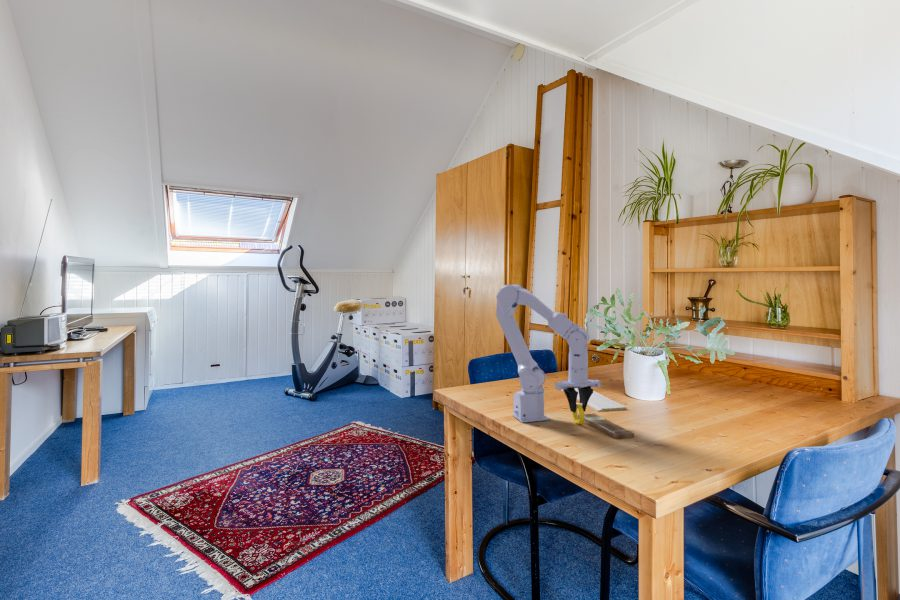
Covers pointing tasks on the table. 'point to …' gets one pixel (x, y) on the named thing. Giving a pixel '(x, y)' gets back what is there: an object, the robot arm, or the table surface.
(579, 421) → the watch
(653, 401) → the table surface
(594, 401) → the baseboard molding
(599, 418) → the board
